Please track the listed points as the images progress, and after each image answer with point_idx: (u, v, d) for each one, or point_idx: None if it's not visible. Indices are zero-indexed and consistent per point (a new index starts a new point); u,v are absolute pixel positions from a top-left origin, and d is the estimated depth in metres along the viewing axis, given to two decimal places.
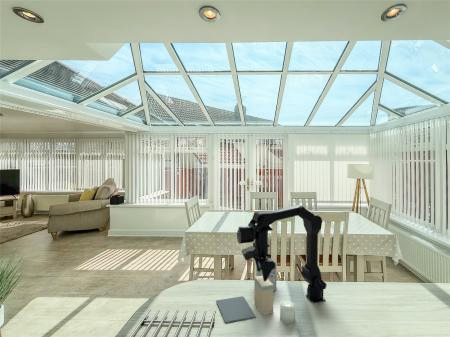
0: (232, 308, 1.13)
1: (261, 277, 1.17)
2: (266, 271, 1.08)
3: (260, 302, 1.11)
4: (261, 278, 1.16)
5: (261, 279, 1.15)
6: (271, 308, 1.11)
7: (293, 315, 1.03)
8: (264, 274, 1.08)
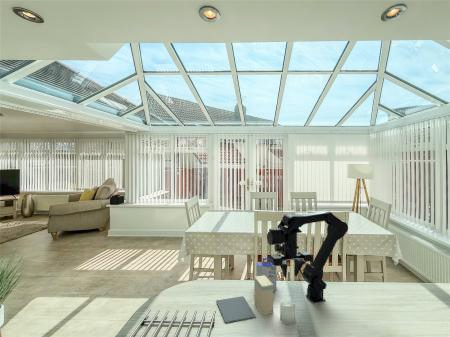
0: (232, 308, 1.13)
1: (261, 277, 1.17)
2: (283, 268, 1.16)
3: (260, 302, 1.11)
4: (261, 278, 1.16)
5: (261, 279, 1.15)
6: (271, 308, 1.11)
7: (293, 315, 1.03)
8: (282, 269, 1.17)
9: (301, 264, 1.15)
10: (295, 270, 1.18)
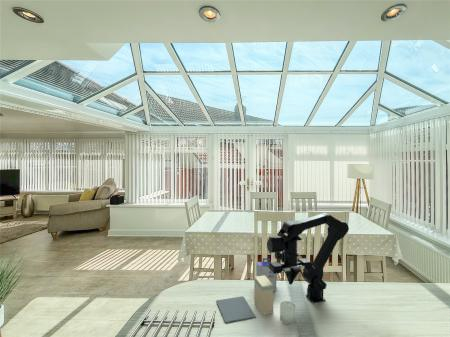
0: (232, 308, 1.13)
1: (261, 277, 1.17)
2: (288, 274, 1.17)
3: (260, 302, 1.11)
4: (261, 278, 1.16)
5: (261, 279, 1.15)
6: (271, 308, 1.11)
7: (293, 315, 1.03)
8: (287, 276, 1.17)
9: (296, 272, 1.15)
10: None
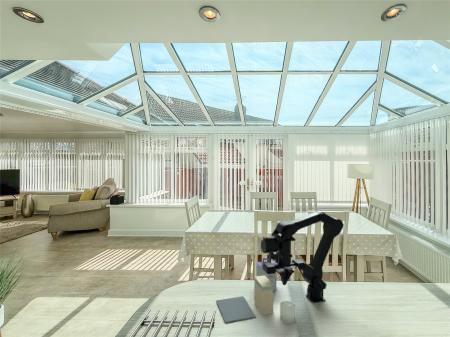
0: (232, 308, 1.13)
1: (261, 277, 1.17)
2: (281, 275, 1.16)
3: (260, 302, 1.11)
4: (261, 278, 1.16)
5: (261, 279, 1.15)
6: (271, 308, 1.11)
7: (293, 315, 1.03)
8: (280, 277, 1.17)
9: (290, 273, 1.14)
10: None
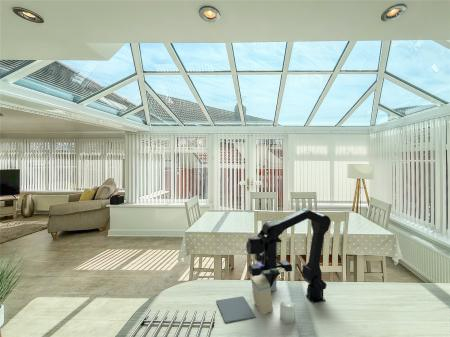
0: (232, 308, 1.13)
1: (258, 277, 1.16)
2: None
3: (259, 302, 1.11)
4: (258, 278, 1.16)
5: (258, 279, 1.15)
6: (270, 307, 1.11)
7: (293, 315, 1.03)
8: (266, 279, 1.15)
9: (276, 275, 1.12)
10: None
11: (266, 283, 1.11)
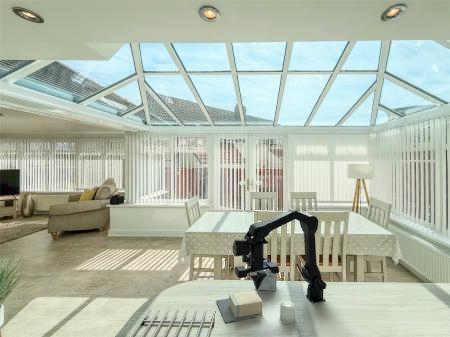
0: None
1: (230, 301, 1.14)
2: (254, 279, 1.12)
3: None
4: (230, 303, 1.13)
5: (231, 305, 1.12)
6: (258, 303, 1.09)
7: (293, 315, 1.03)
8: (253, 281, 1.13)
9: (262, 277, 1.11)
10: None
11: (234, 306, 1.07)
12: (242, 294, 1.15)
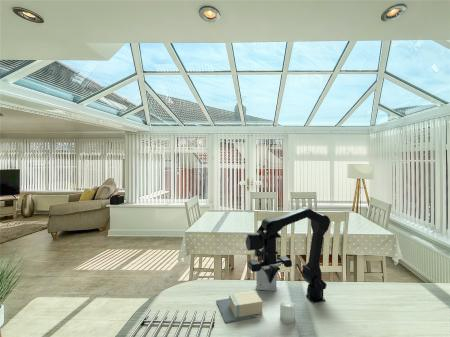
0: None
1: (230, 301, 1.14)
2: (267, 273, 1.14)
3: None
4: (230, 303, 1.13)
5: (231, 305, 1.12)
6: (258, 303, 1.09)
7: (293, 315, 1.03)
8: (266, 274, 1.15)
9: (275, 270, 1.12)
10: None
11: (234, 306, 1.07)
12: (242, 294, 1.15)
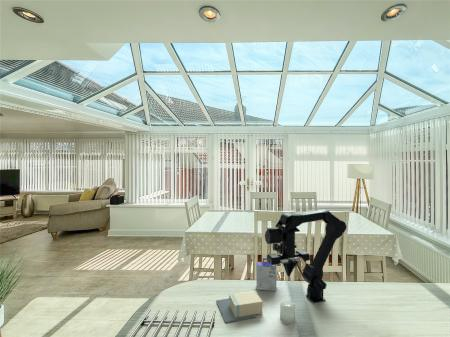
0: None
1: (230, 301, 1.14)
2: (286, 266, 1.16)
3: None
4: (230, 303, 1.13)
5: (231, 305, 1.12)
6: (258, 303, 1.09)
7: (293, 315, 1.03)
8: (285, 268, 1.17)
9: (294, 264, 1.14)
10: None
11: (234, 306, 1.07)
12: (242, 294, 1.15)
